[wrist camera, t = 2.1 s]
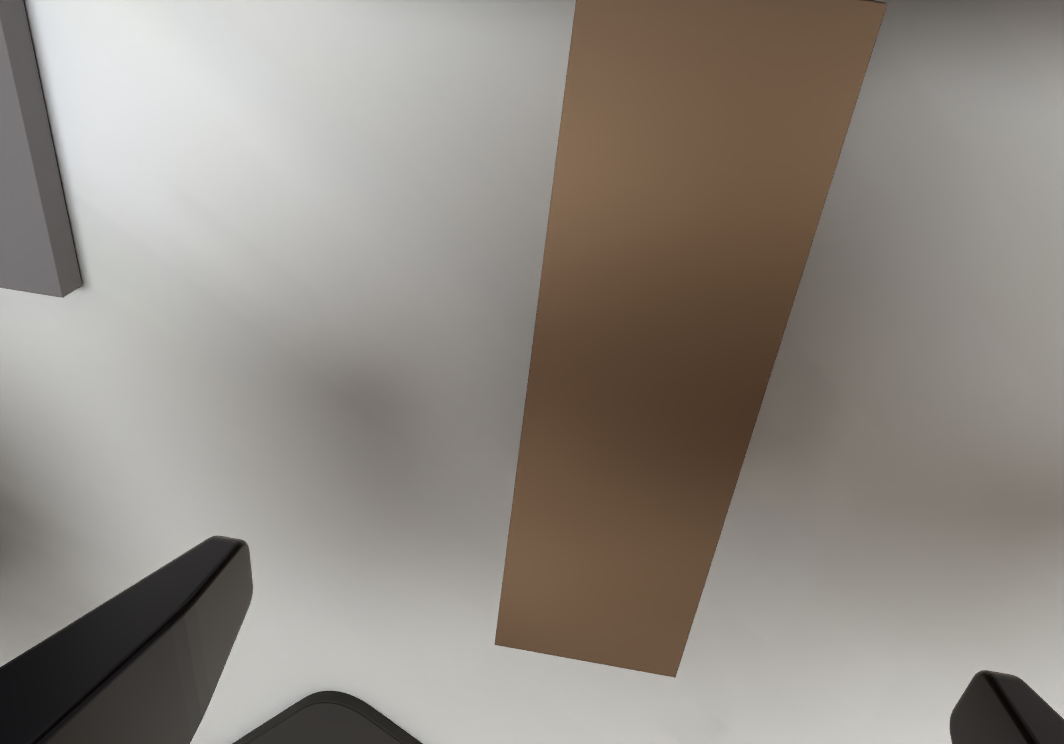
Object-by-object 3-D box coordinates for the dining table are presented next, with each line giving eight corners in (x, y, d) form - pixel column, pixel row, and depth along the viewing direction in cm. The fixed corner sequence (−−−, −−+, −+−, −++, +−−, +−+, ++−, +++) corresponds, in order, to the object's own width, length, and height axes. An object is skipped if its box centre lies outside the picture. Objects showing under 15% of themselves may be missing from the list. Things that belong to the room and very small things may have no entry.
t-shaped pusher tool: (880, 537, 16) (991, 821, 11) (327, 444, 17) (186, 670, 12) (1192, -146, 10) (1779, -231, 5) (305, -251, 11) (-12, -424, 6)
